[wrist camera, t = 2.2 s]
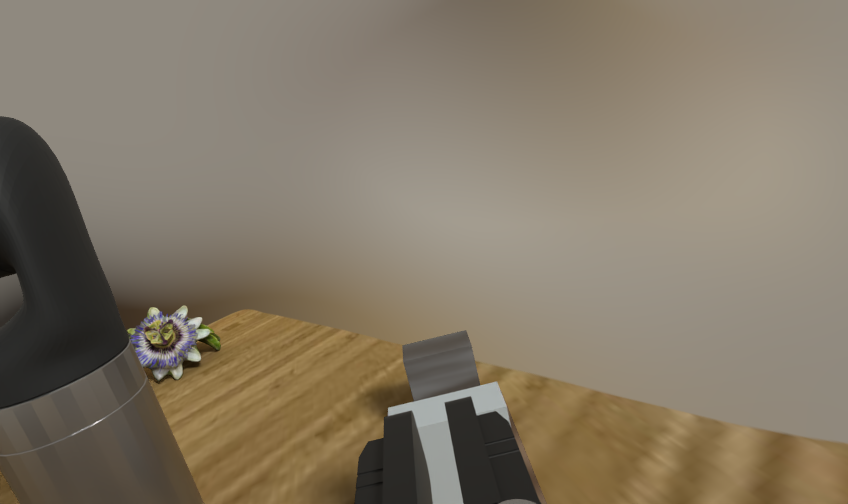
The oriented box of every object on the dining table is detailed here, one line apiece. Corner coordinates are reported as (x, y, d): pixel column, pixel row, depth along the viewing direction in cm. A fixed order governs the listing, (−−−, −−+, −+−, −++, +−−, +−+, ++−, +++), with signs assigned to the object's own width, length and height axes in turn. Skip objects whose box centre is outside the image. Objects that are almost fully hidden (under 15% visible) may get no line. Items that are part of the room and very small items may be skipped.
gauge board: (599, 642, 25) (578, 521, 22) (412, 687, 25) (372, 570, 22) (502, 400, 46) (487, 325, 43) (402, 424, 46) (381, 350, 43)
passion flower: (193, 408, 69) (117, 379, 61) (170, 377, 77) (99, 347, 69) (242, 343, 72) (175, 307, 64) (215, 319, 80) (152, 283, 72)
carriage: (540, 568, 28) (507, 409, 24) (398, 602, 28) (348, 448, 24) (507, 468, 35) (479, 338, 32) (397, 494, 35) (358, 367, 32)
